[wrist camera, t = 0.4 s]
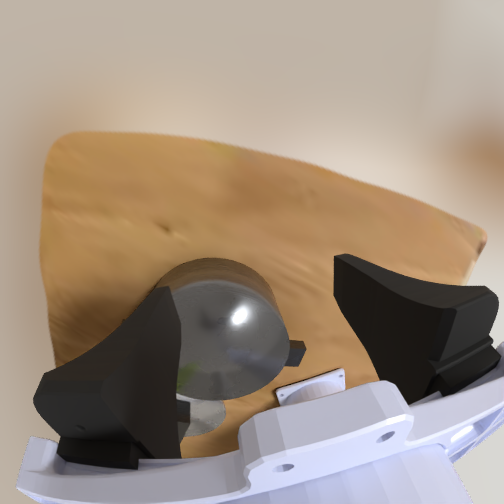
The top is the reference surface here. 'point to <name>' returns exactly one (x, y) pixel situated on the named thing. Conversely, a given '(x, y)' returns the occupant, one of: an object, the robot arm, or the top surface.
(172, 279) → the cooker pot
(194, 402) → the cooker lid
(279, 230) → the top surface
